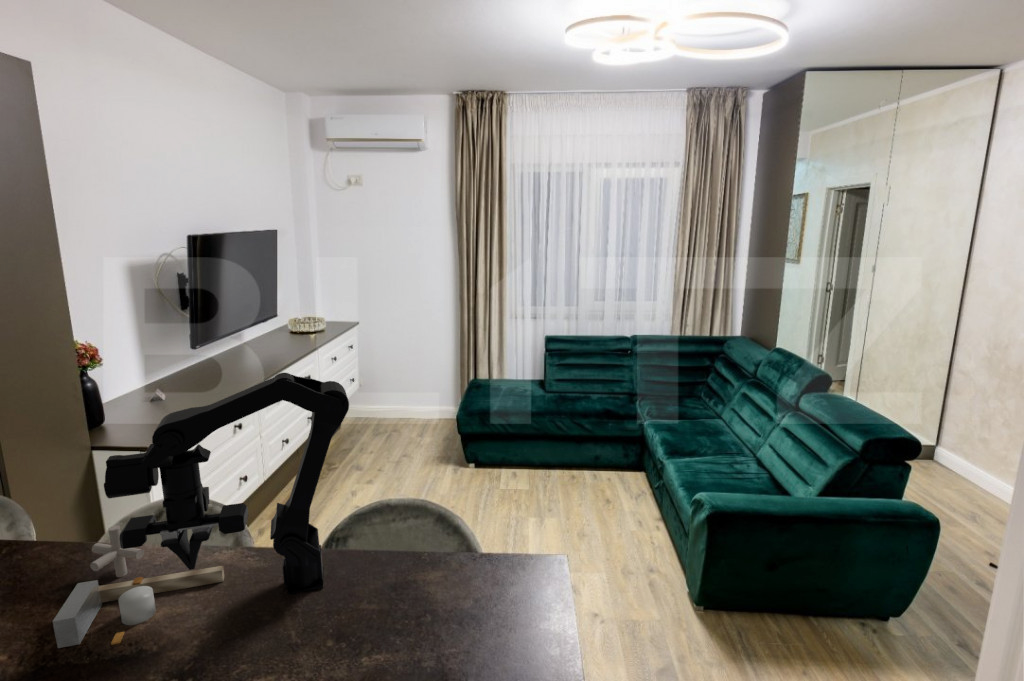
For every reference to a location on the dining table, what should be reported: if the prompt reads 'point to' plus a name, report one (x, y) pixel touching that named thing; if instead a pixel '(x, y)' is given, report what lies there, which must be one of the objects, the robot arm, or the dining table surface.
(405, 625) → the dining table surface
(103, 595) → the oak rail
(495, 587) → the dining table surface
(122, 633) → the small orange-brown block
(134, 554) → the pipe connector
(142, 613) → the grey egg-shaped dome
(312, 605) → the dining table surface
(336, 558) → the dining table surface
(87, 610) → the block
